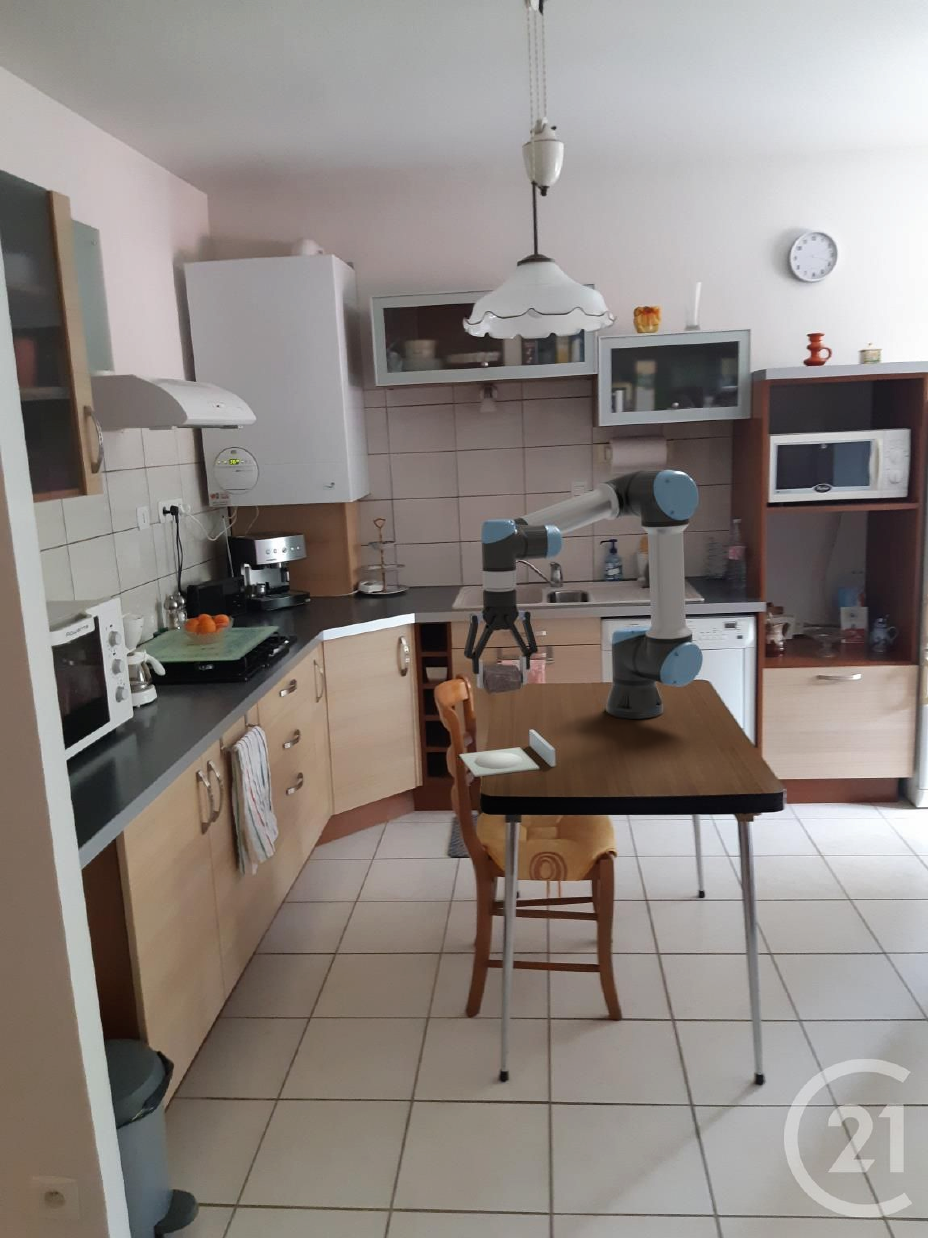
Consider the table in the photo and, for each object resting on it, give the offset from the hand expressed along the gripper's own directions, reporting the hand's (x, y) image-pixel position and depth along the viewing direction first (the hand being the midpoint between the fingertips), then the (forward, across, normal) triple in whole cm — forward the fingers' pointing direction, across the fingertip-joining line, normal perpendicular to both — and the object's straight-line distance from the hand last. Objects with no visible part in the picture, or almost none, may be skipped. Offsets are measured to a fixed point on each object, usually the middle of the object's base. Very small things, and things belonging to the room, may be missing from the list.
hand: (501, 685), depth 211 cm
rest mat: (+18, +1, 0) cm, 18 cm away
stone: (+1, 0, 0) cm, 1 cm away
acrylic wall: (+18, -10, -1) cm, 21 cm away
